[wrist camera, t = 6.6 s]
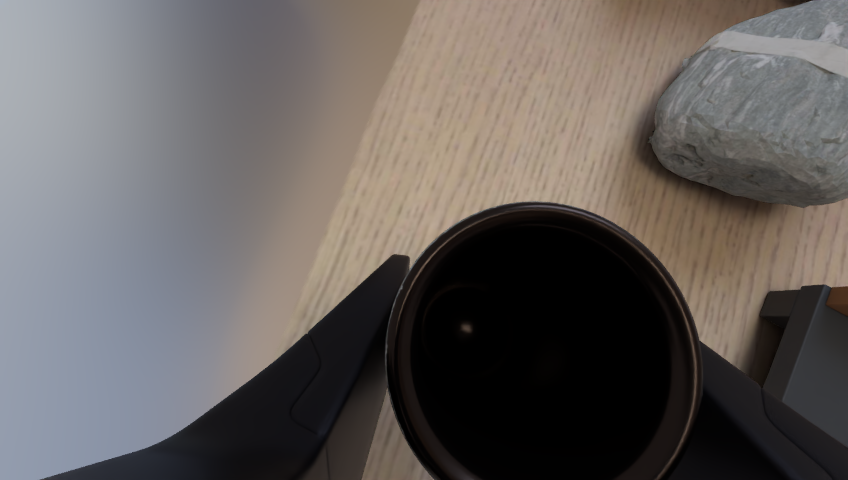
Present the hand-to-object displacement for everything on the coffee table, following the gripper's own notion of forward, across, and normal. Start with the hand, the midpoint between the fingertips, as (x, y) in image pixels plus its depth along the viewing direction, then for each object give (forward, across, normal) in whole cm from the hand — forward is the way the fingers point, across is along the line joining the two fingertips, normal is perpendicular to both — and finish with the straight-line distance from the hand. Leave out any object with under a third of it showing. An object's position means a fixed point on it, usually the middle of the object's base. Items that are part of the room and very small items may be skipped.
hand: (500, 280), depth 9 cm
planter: (+4, 0, +6) cm, 7 cm away
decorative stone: (+18, -17, 0) cm, 25 cm away
